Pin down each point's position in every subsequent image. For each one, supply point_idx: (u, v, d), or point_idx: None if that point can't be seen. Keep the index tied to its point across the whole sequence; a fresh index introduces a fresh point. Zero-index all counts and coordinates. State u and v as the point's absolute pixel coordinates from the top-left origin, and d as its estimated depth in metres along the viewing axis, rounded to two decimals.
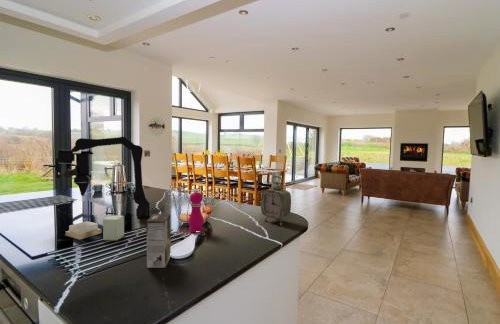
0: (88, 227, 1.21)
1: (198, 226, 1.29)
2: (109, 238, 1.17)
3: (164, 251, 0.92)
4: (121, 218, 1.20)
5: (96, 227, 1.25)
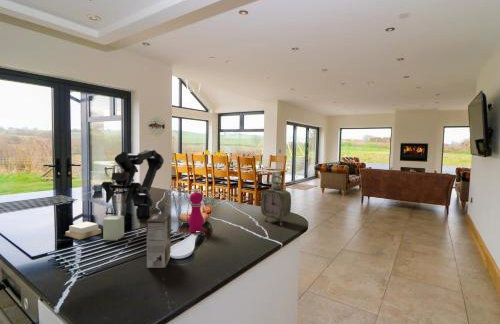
0: (89, 227, 1.21)
1: (198, 226, 1.29)
2: (109, 238, 1.17)
3: (164, 251, 0.92)
4: (121, 218, 1.20)
5: (96, 227, 1.25)
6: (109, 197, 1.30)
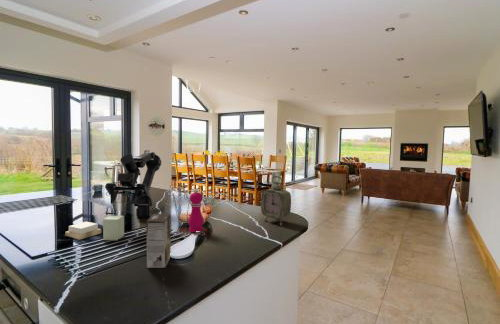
0: (88, 227, 1.21)
1: (198, 226, 1.29)
2: (109, 238, 1.17)
3: (164, 251, 0.92)
4: (121, 218, 1.20)
5: (96, 227, 1.25)
6: (113, 198, 1.29)
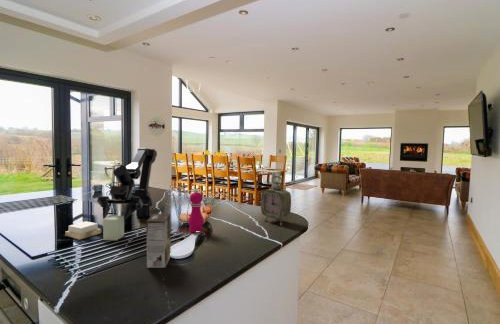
0: (88, 227, 1.21)
1: (198, 226, 1.29)
2: (109, 238, 1.17)
3: (164, 251, 0.92)
4: (121, 218, 1.20)
5: (96, 227, 1.25)
6: (106, 212, 1.22)
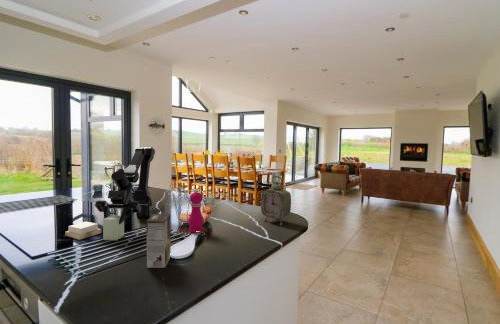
0: (88, 227, 1.21)
1: (198, 226, 1.29)
2: (109, 238, 1.17)
3: (164, 251, 0.92)
4: None
5: (96, 227, 1.24)
6: None
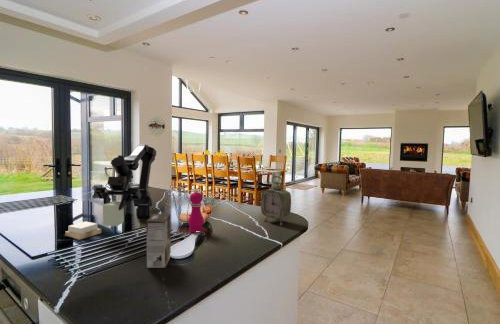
0: (88, 227, 1.21)
1: (198, 226, 1.29)
2: (109, 224, 1.17)
3: (164, 251, 0.92)
4: None
5: (96, 227, 1.25)
6: None
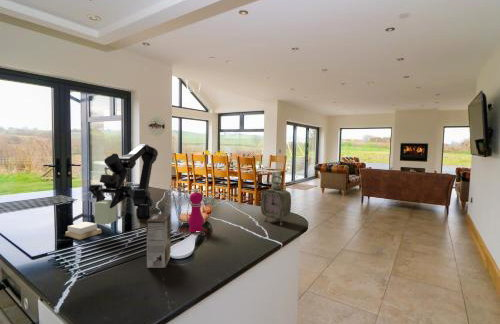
0: (88, 227, 1.21)
1: (198, 226, 1.29)
2: (100, 222, 1.17)
3: (164, 251, 0.92)
4: None
5: (95, 227, 1.25)
6: None
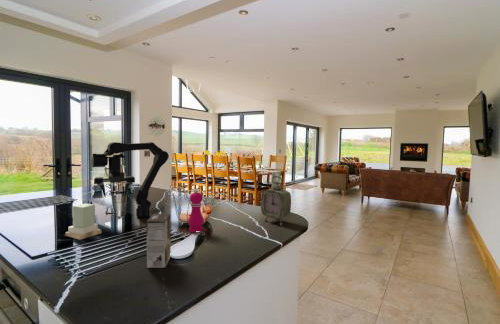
0: (89, 227, 1.22)
1: (198, 226, 1.29)
2: (77, 225, 1.20)
3: (164, 251, 0.92)
4: (90, 207, 1.22)
5: (96, 227, 1.25)
6: None
